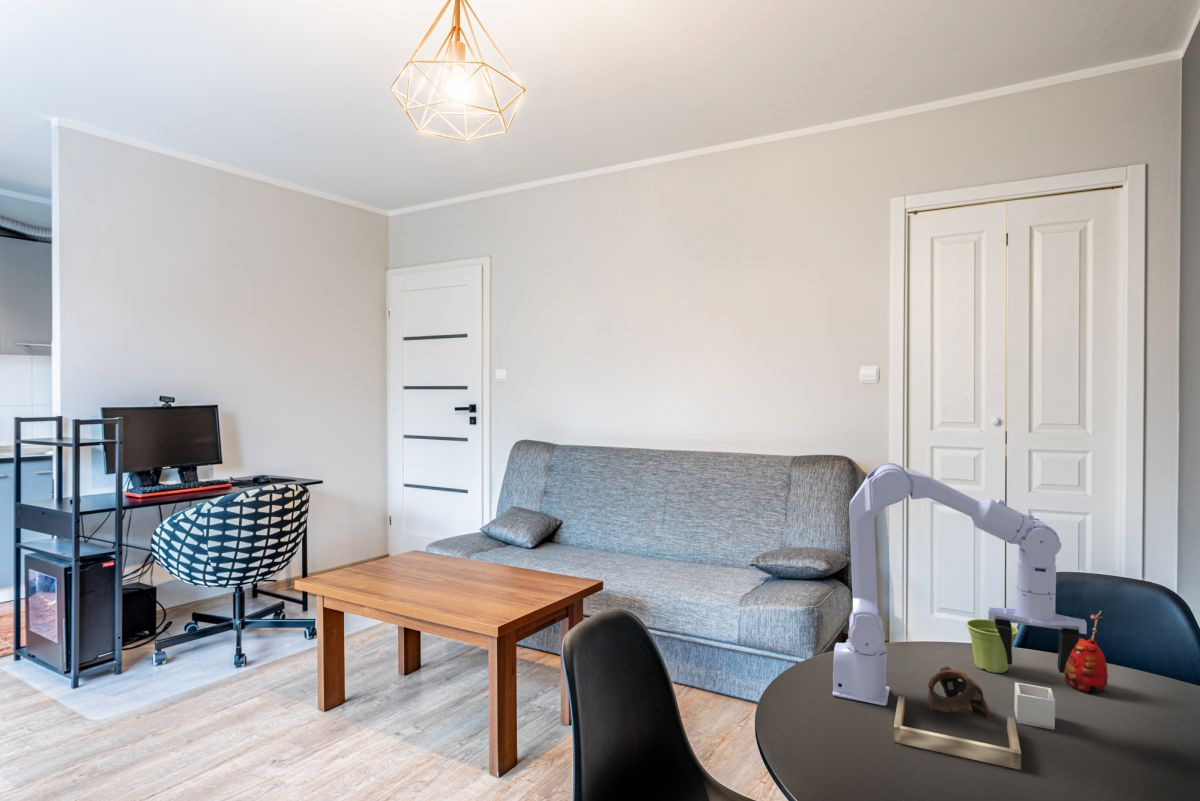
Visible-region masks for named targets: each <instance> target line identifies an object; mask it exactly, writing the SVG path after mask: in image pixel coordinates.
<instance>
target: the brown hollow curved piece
mask: <svg viewBox="0 0 1200 801" xmlns="http://www.w3.org/2000/svg"><path fill="white" fill-rule="evenodd" d="M938 682H939V683H940V686H941V687H942V688H943V692H944V693H945V696H943V695H940V694H938V693H936V691H935V690H934V689H935V686H936V685H937V683H938ZM927 684H928V685H927V686H928V687H927V688H929V689H928V698H927V701H928V702H927V703H928V705H929V709H930V710H931V712H934V711H941V712H945V713H946V712H947V713H952V712H954V713H957V712H960V711H965V710H966V711H969V712H973V710H974V709H973V707H972V705H973V706H976V707H979V708H981V709H982V710H983V711H984V714H985V716H986V717H989V716H990V714H989V706H988V704H987V702H986V700H985V698H984V693H983V690H982V688H981V686H980V685H979V684H978V683H977V682H975V681H974V680H973V679H971V677H969V676H968V675H967V674H966V673H964V672H962V671H960V670H956V669H952V668H950V667H949V666H944V667H941V668H940V670H939V672H937V673H936V674H934V675H933V676H932V677H931V678H930V679H929V681H928V683H927Z"/></svg>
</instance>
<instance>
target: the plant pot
mask: <svg viewBox="0 0 1200 801" xmlns="http://www.w3.org/2000/svg"><path fill="white" fill-rule="evenodd" d="M965 625H966V626H967V627H968V628H967V629H968V632H969V635H970V640H971V646H972V647H971V648H972V654H973V660H974V665H975V666H976V668H978V669H981V670H982V669H984V670H986V671H987V672H988V673H996V674H997V673H998V674H1002V673H1006V672H1007V671H1009V667H1010V664H1007V657H1006V651H1005V648H1004V645H1003V642H1002V639H1001V637H1000V635H999V633H998V631H997V628H996V625H995V621H989V620H988V618H987V619H984V618H973V619H969V620H967V621H966V622H965ZM1011 628H1012V643H1011V650H1012V651H1013V645H1014V641H1015V639H1016V636H1017V634H1018V633H1019V629H1018V628H1017V627H1016V626H1014V625H1012V624H1011Z"/></svg>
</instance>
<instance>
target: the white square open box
mask: <svg viewBox="0 0 1200 801" xmlns="http://www.w3.org/2000/svg"><path fill="white" fill-rule="evenodd" d="M1013 705H1014V715H1015V720H1016V723H1017V724H1021V725H1027V726H1032V727H1037V728H1042V729H1046V730H1047V729H1048V730H1053V731H1055V730H1056V728H1055V727H1056V726H1055V725H1056V724H1055V723H1056V699H1055V696H1054V694H1053V691H1052V688H1051V687H1045V686H1039V685H1033V684H1029V683H1027V684H1026V683H1022V682H1014V704H1013Z"/></svg>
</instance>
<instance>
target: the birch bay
mask: <svg viewBox="0 0 1200 801" xmlns="http://www.w3.org/2000/svg"><path fill="white" fill-rule="evenodd" d="M905 701H906V700H905V697H904V696H902V695H901V696H900V695H899V696H898V697H897V703H896V709H895V716H894V723H893V731H892V733H893V735H892V736H893V739H892V740H893V743H895V744H896V743H897V744H901V745H906V746H911V747H916V748H920V749H925V750H929V751H933V752H937V753H938V752H939V753H941V754H947V755H951V756H957V757H960V758H965V759H970V760H973V761H978V762H983V763H986V764H987V763H988V764H992V765H996V766H997V765H998V766H1000V767H1004V768H1005V767H1006V768H1011V769H1015V770H1020V771H1022V750H1021V747H1020V745H1021V744H1020V742H1019V741H1020V740H1019V735H1018V730H1017V725H1016V721H1015V720H1016V718H1014V717H1009V716H1008V717H1007V718H1006V719H1007V720H1006V721H1007V723H1006V724H1007V725H1006V726H1007V728H1006V732H1007V738H1008V744H1009V747H1005V746H1000V745H994V744H990V743H986V742H981V741H977V740H971V739H967V738H962V737H961V738H960V737H957V736H951V735H947V734H942V733H937V732H932V731H928V730H924V729H923V730H922V729H918V728H914V727H908V726H904V725H903V722H904V716H905V704H906V703H905Z"/></svg>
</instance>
